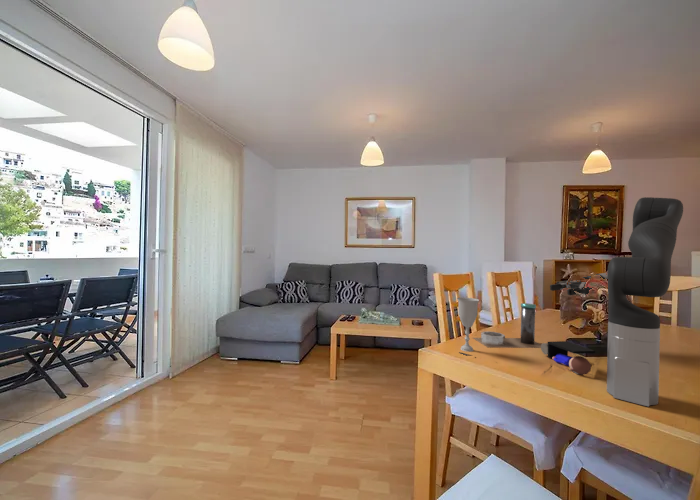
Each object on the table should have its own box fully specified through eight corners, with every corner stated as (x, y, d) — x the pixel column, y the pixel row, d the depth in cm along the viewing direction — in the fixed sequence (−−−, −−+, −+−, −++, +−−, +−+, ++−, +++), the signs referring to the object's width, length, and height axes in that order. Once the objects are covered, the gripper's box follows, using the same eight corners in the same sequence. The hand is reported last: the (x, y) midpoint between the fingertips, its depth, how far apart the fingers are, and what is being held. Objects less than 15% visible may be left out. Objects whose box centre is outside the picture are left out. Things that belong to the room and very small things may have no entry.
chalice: (451, 350, 107) (452, 297, 107) (468, 349, 109) (469, 297, 109) (465, 357, 100) (466, 301, 100) (482, 355, 102) (484, 300, 102)
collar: (500, 346, 109) (500, 338, 109) (478, 342, 114) (478, 333, 114) (507, 342, 114) (507, 334, 114) (485, 338, 120) (486, 330, 120)
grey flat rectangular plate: (527, 341, 121) (527, 338, 121) (549, 351, 109) (549, 347, 109) (471, 340, 120) (471, 337, 120) (487, 350, 108) (487, 347, 108)
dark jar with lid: (533, 345, 112) (533, 306, 112) (518, 342, 115) (519, 304, 115) (536, 342, 115) (537, 304, 115) (522, 340, 118) (522, 302, 118)
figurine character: (539, 363, 101) (575, 376, 86) (538, 338, 102) (573, 347, 87) (559, 363, 101) (599, 377, 86) (558, 339, 102) (597, 348, 87)
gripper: (583, 271, 124) (544, 277, 122) (617, 276, 109) (573, 283, 108) (584, 290, 124) (546, 296, 123) (618, 298, 110) (575, 304, 109)
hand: (559, 290), depth 115 cm, fingers open, 8 cm apart
